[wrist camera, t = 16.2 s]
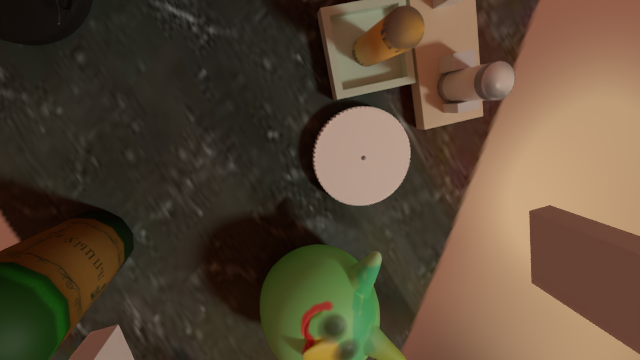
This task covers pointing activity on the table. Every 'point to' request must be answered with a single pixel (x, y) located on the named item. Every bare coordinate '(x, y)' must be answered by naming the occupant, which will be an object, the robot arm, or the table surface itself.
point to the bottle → (57, 281)
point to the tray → (338, 38)
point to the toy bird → (324, 307)
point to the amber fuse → (389, 36)
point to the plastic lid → (361, 155)
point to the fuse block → (453, 66)
